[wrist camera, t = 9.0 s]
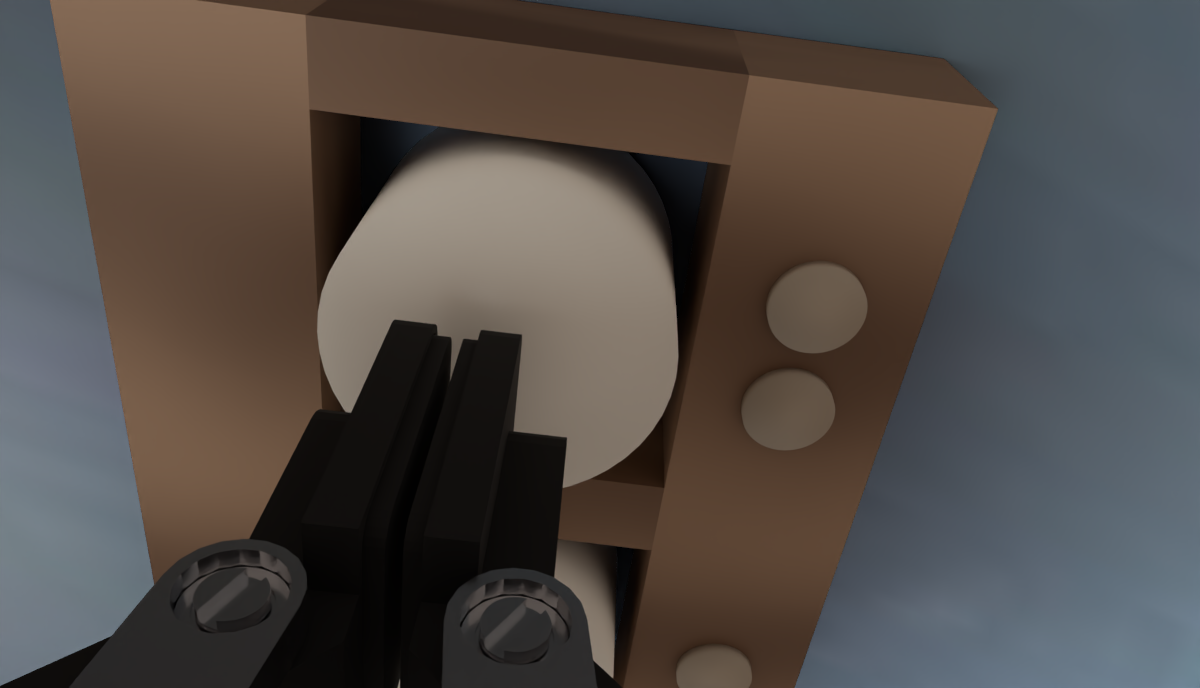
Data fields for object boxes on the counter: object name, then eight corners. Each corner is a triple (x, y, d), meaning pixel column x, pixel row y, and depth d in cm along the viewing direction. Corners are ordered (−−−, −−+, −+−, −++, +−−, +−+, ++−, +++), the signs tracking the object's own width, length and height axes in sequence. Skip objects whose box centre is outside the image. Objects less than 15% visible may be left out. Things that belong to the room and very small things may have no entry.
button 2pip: (648, 394, 17) (648, 512, 14) (375, 360, 17) (323, 472, 14) (696, 130, 14) (709, 213, 12) (374, 87, 14) (309, 160, 11)
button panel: (691, 869, 25) (695, 978, 23) (250, 819, 25) (210, 925, 23) (943, 58, 14) (1003, 113, 12) (140, -52, 14) (36, -18, 11)
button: (601, 652, 21) (595, 786, 18) (376, 626, 20) (335, 755, 18) (633, 479, 18) (630, 603, 15) (376, 447, 18) (327, 567, 15)
